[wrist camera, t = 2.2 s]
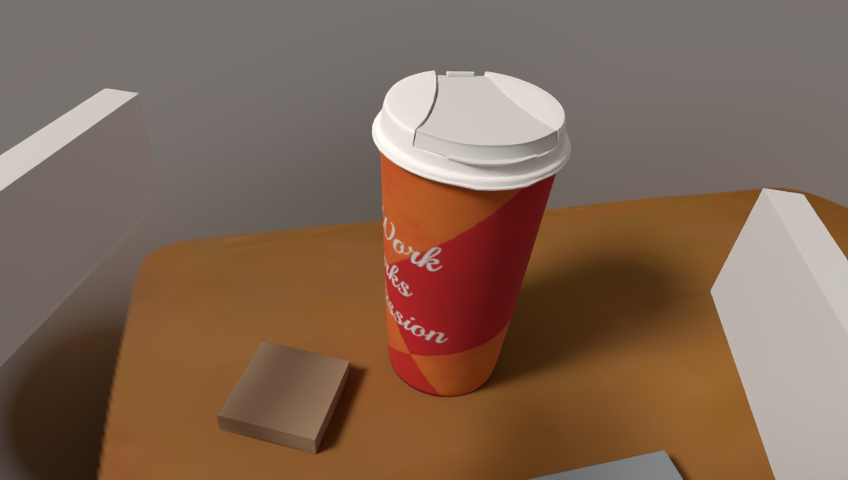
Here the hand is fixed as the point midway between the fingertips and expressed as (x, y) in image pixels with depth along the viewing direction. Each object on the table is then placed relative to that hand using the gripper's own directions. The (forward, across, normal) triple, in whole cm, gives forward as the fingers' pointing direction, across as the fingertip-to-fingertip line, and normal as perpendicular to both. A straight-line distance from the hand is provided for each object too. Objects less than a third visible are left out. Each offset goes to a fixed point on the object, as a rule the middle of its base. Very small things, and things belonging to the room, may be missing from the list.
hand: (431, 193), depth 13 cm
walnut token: (+6, -6, -17) cm, 19 cm away
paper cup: (+10, 0, -16) cm, 19 cm away
